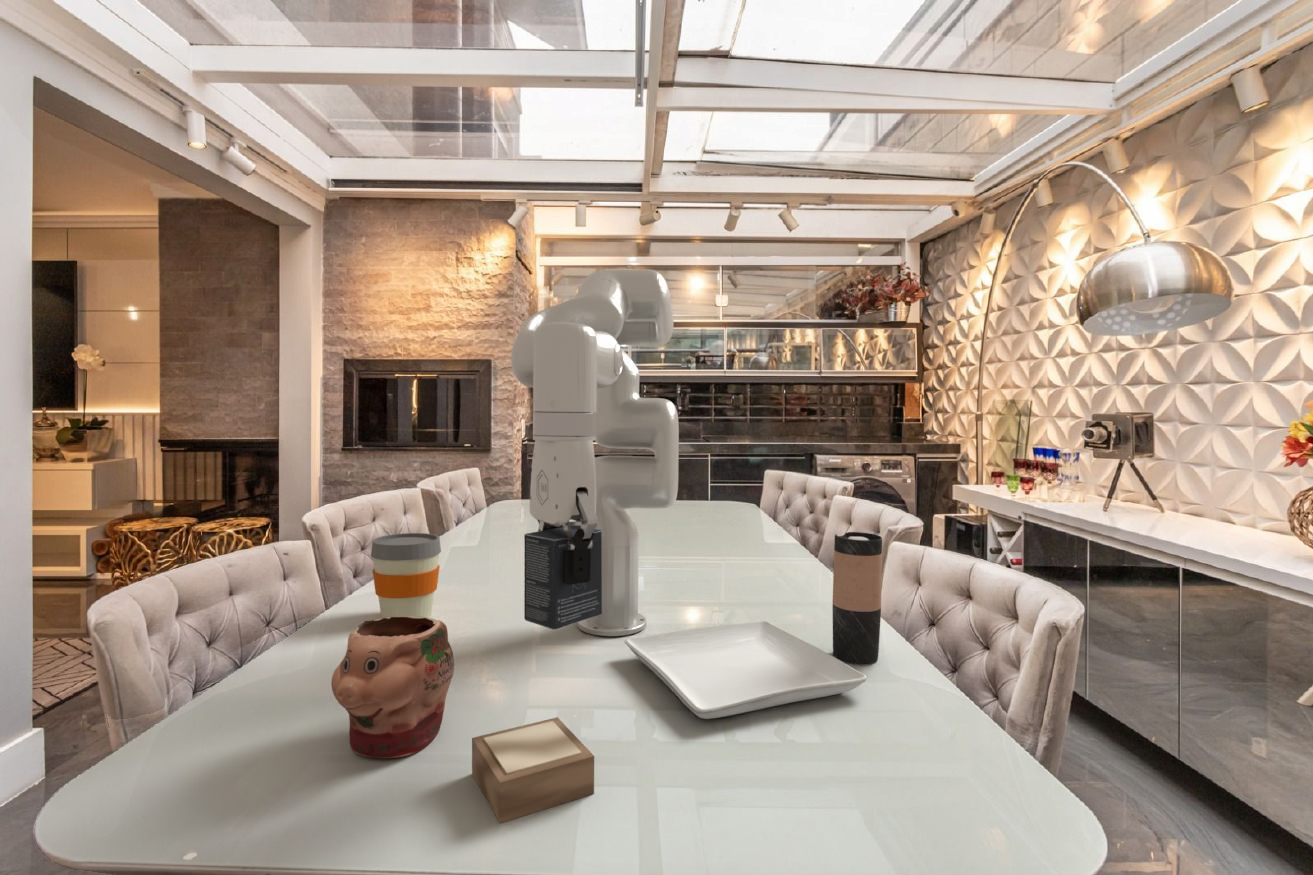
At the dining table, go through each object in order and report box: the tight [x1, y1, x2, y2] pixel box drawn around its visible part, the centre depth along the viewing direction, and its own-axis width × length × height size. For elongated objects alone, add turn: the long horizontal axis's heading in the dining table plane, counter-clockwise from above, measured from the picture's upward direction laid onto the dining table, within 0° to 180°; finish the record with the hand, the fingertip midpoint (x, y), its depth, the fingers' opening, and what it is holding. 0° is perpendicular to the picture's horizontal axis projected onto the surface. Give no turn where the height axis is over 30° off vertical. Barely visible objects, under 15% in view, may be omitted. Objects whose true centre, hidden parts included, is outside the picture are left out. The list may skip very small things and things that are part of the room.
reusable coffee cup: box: [370, 532, 442, 619], centre depth 126 cm, size 13×12×15 cm
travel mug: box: [832, 531, 883, 666], centre depth 108 cm, size 8×8×20 cm
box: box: [523, 527, 602, 630], centre depth 79 cm, size 8×6×11 cm
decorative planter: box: [331, 616, 455, 759], centre depth 81 cm, size 20×12×14 cm, turn 173°
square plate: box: [624, 620, 868, 720], centre depth 100 cm, size 27×27×4 cm
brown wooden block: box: [471, 717, 595, 824], centre depth 70 cm, size 10×10×4 cm
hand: (563, 574), depth 79 cm, fingers closed on box, 7 cm apart
